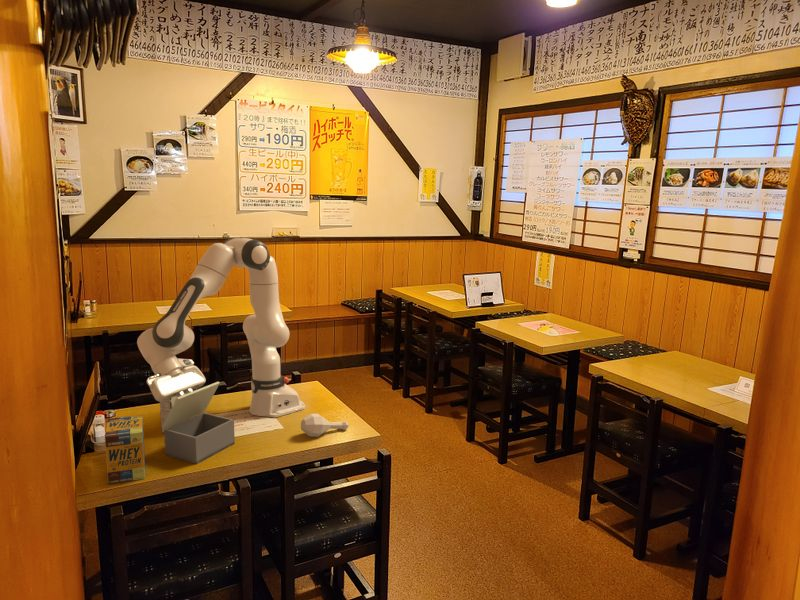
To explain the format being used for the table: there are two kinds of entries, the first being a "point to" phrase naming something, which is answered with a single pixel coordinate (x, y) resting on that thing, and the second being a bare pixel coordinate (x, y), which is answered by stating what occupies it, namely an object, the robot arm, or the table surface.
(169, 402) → the candy bar box
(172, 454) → the storage box
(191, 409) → the lid
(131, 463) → the protein box
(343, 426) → the chicken leg
